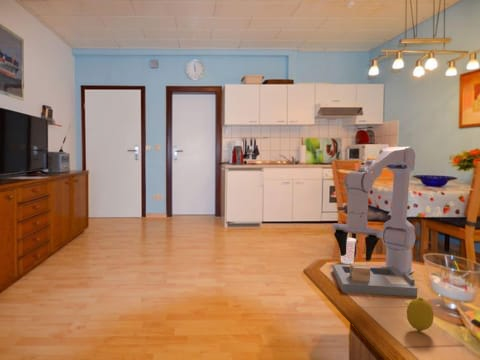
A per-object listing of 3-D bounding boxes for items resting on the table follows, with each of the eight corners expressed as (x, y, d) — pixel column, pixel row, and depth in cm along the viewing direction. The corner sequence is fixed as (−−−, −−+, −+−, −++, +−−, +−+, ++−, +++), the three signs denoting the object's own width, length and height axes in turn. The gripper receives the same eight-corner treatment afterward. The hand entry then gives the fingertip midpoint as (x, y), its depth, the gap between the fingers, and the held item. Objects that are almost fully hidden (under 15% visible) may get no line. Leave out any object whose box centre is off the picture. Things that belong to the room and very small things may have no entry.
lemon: (436, 338, 81) (438, 303, 80) (409, 335, 82) (411, 301, 81) (428, 327, 86) (430, 294, 85) (403, 324, 87) (404, 292, 87)
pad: (384, 276, 115) (384, 276, 115) (402, 277, 115) (402, 277, 115) (391, 284, 108) (391, 283, 108) (410, 285, 108) (410, 284, 108)
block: (349, 275, 115) (350, 262, 115) (365, 276, 115) (366, 263, 115) (352, 280, 110) (353, 267, 110) (369, 281, 110) (370, 268, 110)
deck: (332, 271, 127) (333, 260, 127) (395, 274, 125) (395, 262, 125) (342, 292, 107) (343, 279, 107) (417, 296, 105) (417, 282, 105)
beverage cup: (349, 265, 135) (350, 228, 134) (335, 261, 139) (336, 225, 138) (358, 262, 138) (360, 226, 137) (345, 259, 143) (346, 223, 142)
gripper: (328, 210, 109) (326, 255, 110) (377, 216, 99) (375, 265, 100) (338, 208, 114) (337, 251, 115) (386, 214, 105) (383, 260, 106)
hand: (355, 257), depth 108 cm, fingers open, 7 cm apart
